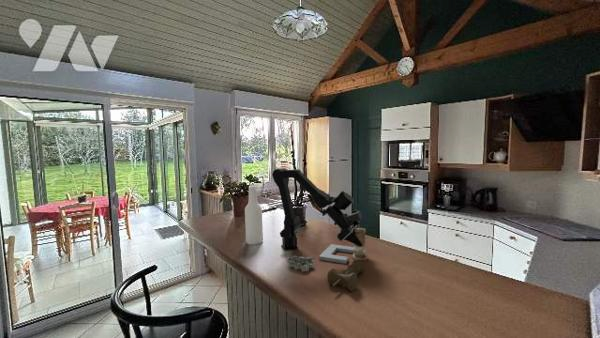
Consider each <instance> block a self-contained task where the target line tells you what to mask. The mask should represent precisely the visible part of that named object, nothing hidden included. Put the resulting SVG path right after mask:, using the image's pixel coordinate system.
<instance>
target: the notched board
mask: <svg viewBox="0 0 600 338" xmlns="http://www.w3.org/2000/svg"><path fill="white" fill-rule="evenodd" d="M336 252H340V253H341V252H342V253H348V254H349V253H350V254H354V246H348V245H340V244H334V243H333V244H332V243H331V244H329V246H328V247H326V249H325V250H323V252H322V253H321V254H319V256H318V259H319V260H320V261H326V262H333V263H338V264H344V265H345V264H348V262H349V256H343V255H337V254H336Z"/></svg>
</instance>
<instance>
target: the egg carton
mask: <svg viewBox="0 0 600 338" xmlns="http://www.w3.org/2000/svg"><path fill="white" fill-rule="evenodd" d="M286 260H287V267H288V268H294V270H301V272H309V271H310V269H313V268H314V260H315V257H313V256H308V257H307V256H306V257H305V256H297V255H291V256H290V257H288V258H286Z"/></svg>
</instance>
